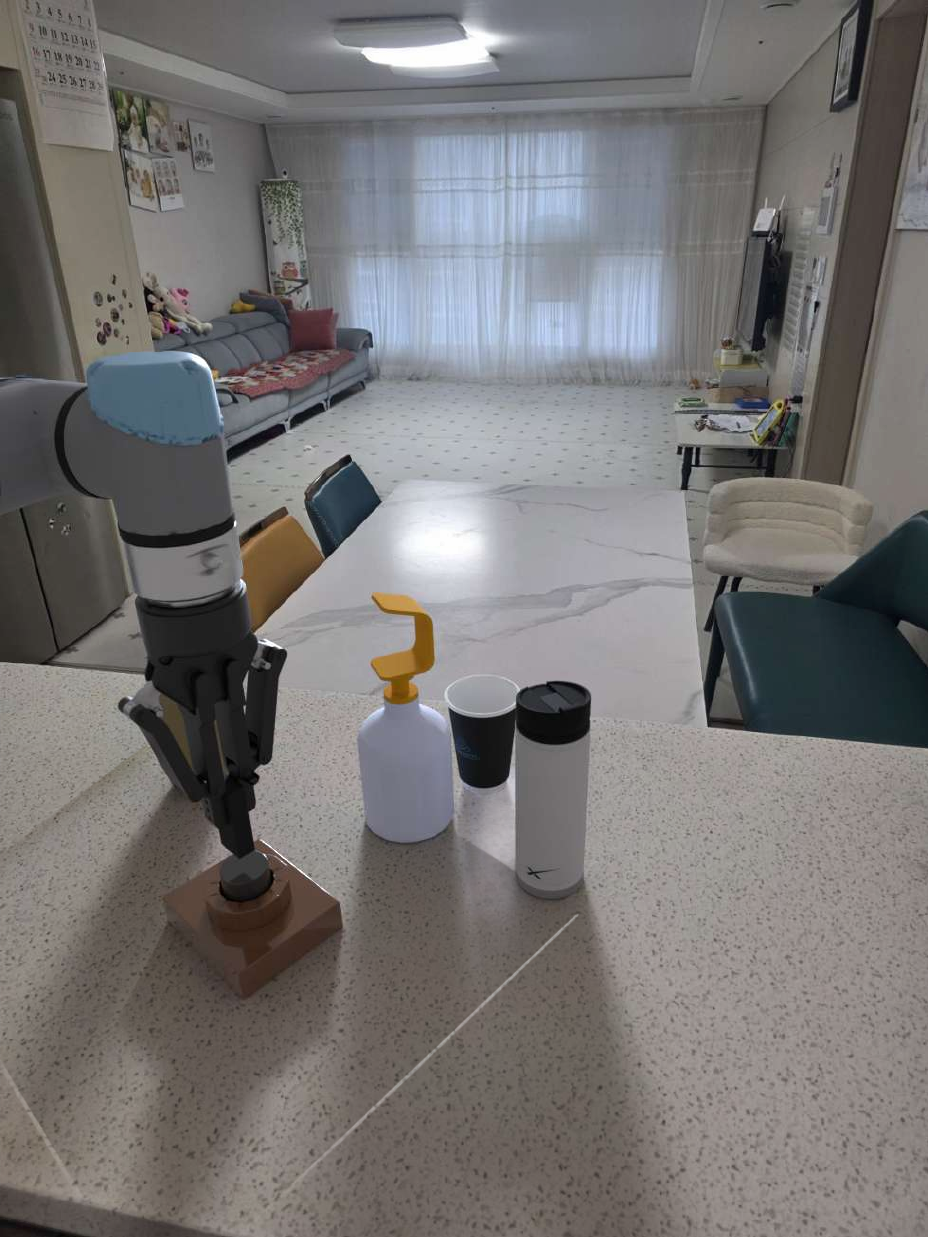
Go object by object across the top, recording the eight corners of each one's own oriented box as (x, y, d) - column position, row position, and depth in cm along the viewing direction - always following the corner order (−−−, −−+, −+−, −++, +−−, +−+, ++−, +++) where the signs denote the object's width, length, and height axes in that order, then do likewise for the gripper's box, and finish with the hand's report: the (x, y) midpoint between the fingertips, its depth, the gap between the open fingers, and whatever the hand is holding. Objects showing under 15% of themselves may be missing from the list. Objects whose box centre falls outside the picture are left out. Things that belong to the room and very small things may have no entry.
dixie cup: (525, 762, 92) (526, 677, 87) (516, 808, 85) (516, 718, 80) (455, 756, 93) (452, 671, 88) (440, 800, 86) (436, 711, 81)
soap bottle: (354, 801, 86) (330, 588, 75) (435, 778, 89) (423, 570, 79) (380, 856, 79) (359, 627, 68) (468, 829, 82) (460, 606, 71)
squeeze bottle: (183, 813, 85) (149, 661, 77) (152, 778, 91) (117, 633, 83) (253, 779, 90) (228, 634, 82) (219, 748, 96) (193, 609, 88)
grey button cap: (213, 886, 70) (209, 868, 69) (254, 861, 72) (250, 843, 71) (240, 910, 67) (236, 891, 66) (280, 883, 70) (277, 865, 69)
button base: (167, 922, 72) (156, 879, 70) (263, 862, 79) (256, 820, 76) (244, 1001, 65) (234, 955, 62) (343, 927, 71) (338, 883, 69)
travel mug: (537, 912, 72) (539, 720, 63) (503, 864, 77) (502, 680, 69) (598, 890, 74) (609, 700, 65) (561, 844, 80) (567, 664, 71)
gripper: (126, 635, 51) (190, 915, 61) (298, 572, 59) (329, 828, 70) (74, 601, 55) (141, 867, 66) (240, 546, 64) (277, 790, 74)
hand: (238, 846), depth 68 cm, fingers closed
